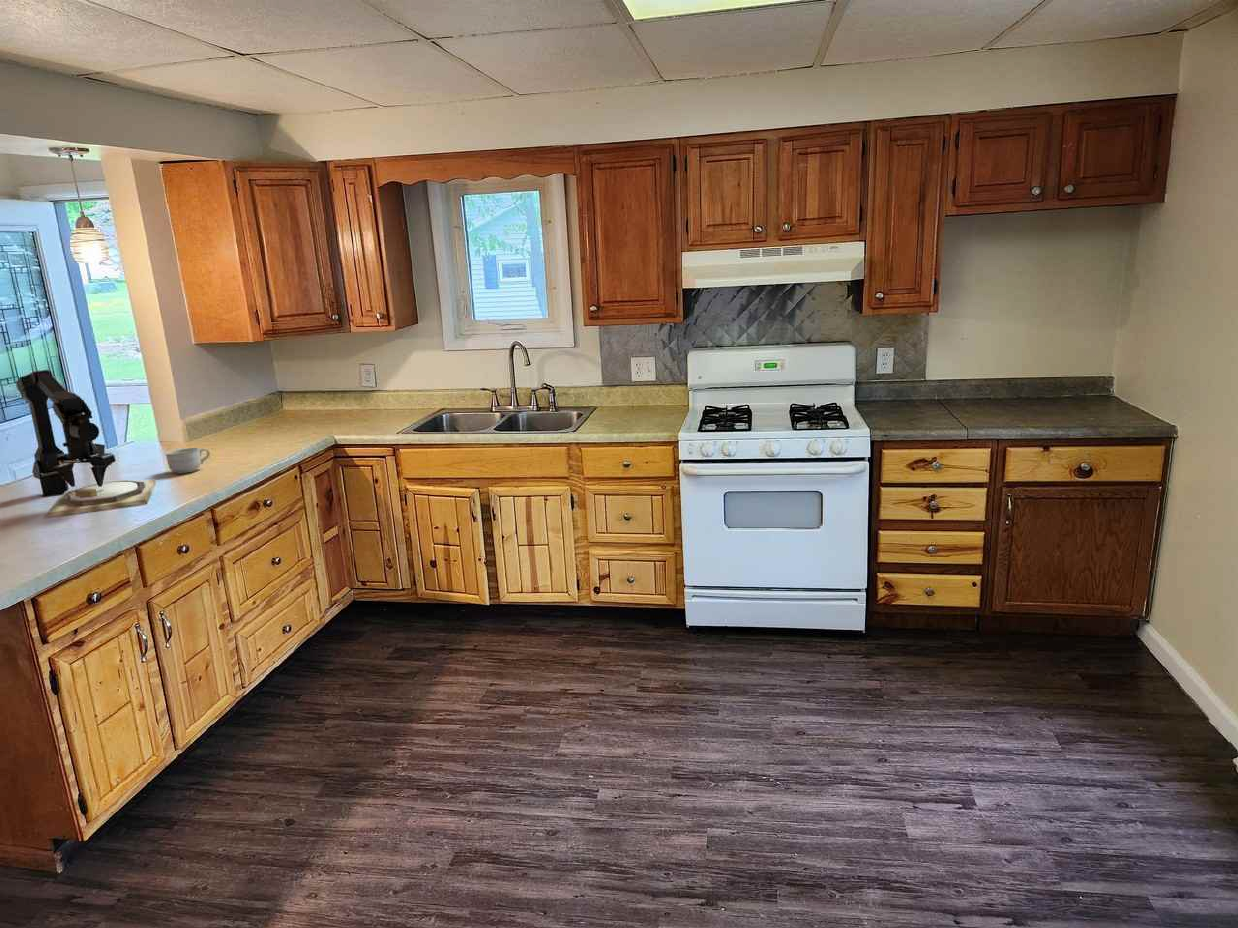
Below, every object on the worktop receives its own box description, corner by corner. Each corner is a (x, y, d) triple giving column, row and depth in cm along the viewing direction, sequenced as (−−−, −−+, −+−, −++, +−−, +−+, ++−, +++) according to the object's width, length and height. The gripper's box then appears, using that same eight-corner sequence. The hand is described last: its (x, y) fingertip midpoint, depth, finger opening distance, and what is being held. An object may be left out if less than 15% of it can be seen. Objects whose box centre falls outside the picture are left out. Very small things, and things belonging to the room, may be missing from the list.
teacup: (167, 477, 282) (163, 455, 280) (170, 470, 292) (166, 449, 290) (211, 471, 287) (207, 450, 285) (213, 465, 297) (209, 444, 295)
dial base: (49, 517, 241) (46, 507, 240) (66, 495, 264) (64, 486, 263) (147, 503, 251) (145, 494, 250) (156, 483, 274) (154, 475, 273)
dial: (105, 485, 268) (103, 475, 267) (151, 487, 264) (149, 476, 263) (55, 502, 251) (53, 491, 250) (104, 504, 246) (101, 493, 245)
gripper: (122, 431, 252) (132, 479, 256) (68, 432, 254) (78, 479, 259) (97, 439, 242) (107, 489, 246) (40, 440, 244) (51, 489, 248)
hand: (86, 486), depth 250 cm, fingers open, 9 cm apart
